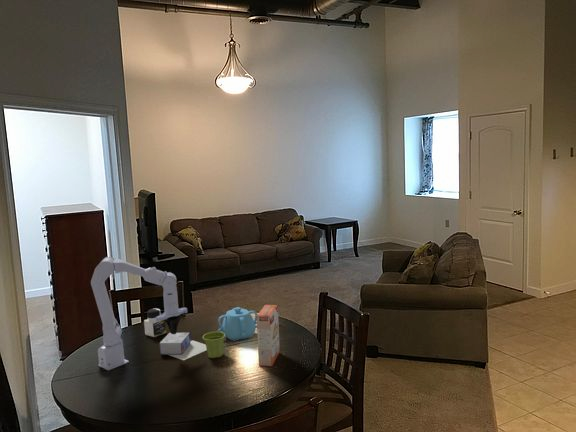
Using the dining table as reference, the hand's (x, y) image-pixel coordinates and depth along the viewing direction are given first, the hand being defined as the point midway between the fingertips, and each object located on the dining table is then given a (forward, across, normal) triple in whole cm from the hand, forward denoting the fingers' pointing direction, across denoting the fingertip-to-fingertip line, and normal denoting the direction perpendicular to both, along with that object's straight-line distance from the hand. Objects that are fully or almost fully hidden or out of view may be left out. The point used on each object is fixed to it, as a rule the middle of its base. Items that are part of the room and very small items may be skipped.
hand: (173, 333), depth 200 cm
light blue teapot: (+10, +31, -7) cm, 33 cm away
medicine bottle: (+10, +11, +30) cm, 34 cm away
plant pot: (+10, +10, -14) cm, 20 cm away
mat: (+10, +7, 0) cm, 12 cm away
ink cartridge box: (+7, -1, +2) cm, 7 cm away
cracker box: (+10, +20, -36) cm, 42 cm away
